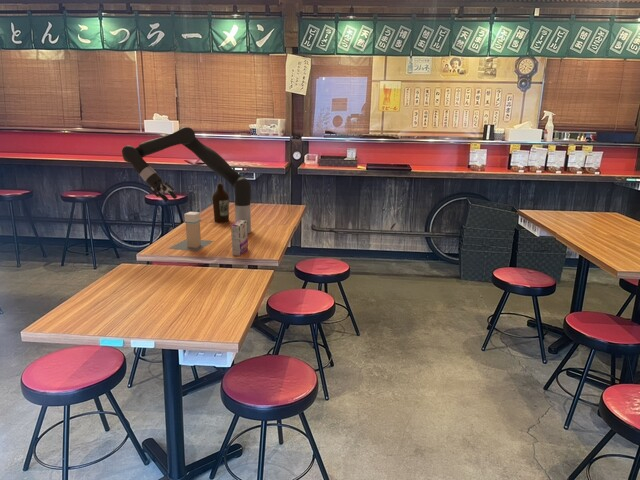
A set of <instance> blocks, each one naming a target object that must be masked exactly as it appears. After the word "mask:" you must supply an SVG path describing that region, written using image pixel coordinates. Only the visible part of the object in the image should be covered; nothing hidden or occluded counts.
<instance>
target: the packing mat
mask: <svg viewBox="0 0 640 480" xmlns="http://www.w3.org/2000/svg"><path fill="white" fill-rule="evenodd" d="M213 242H215V240H205V239H201V246H199V247H197V248H192V247H187V238H185V239H184V240H182V241H180V242H178V243H177V244H173V245H172V246H171V247H168V248H167V249H169V250H179V251H180V250H181V251H188V252H200V251H201V250H202V249H204V248H205V247H207V246H208V245H209V246H210V245H211V244H212V243H213Z"/></svg>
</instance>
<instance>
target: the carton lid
mask: <svg viewBox="0 0 640 480" xmlns="http://www.w3.org/2000/svg"><path fill="white" fill-rule="evenodd" d="M199 222H200V223H201V222H202V220H201V212H199V211H188V212H186V213H184V224H186V223H187V224H197V223H199Z"/></svg>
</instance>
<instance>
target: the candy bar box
mask: <svg viewBox="0 0 640 480" xmlns="http://www.w3.org/2000/svg"><path fill="white" fill-rule="evenodd" d="M230 229H231V230H230V231H231V248H232V256H234V255H242V254H243V253H244V252H245V253H246V252H247V251H249V243H248V241H249V239H248V234H247V221H245V220H238V221H237V222H235V221H234V223H232V224H231V225H230ZM245 253H244V254H245ZM244 254H243V255H244ZM243 255H242V256H243Z"/></svg>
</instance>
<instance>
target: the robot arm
mask: <svg viewBox="0 0 640 480" xmlns="http://www.w3.org/2000/svg"><path fill="white" fill-rule="evenodd" d="M179 145H182V146H184V147H185V148H187V149H188V150H190V152H192V153H193V154H194V155H195V156H196V157H198V158H199V160H200V161H201V162H203V164H204V165H206V166H207V167H208V168H209V169H210V170H211V171H213V172H214V173H216V174H217V175H219V176H220V177H222V178H223V179H225V180H226V181H227V182H228V183H229V184H230V185H231V186H232V187H233V189H234V194H235V196H234V219H235V220H234V223H235V222H237V221H238V220H245V221H247V235H248V234H249V235H250V234H251V233H252V212H251V210H252V209H251V200H252V185H251V182H250V180H248V179H247V178H246V177H244V176H242V175H241V174H240V173H238V172H237V171H235V170H234V168H232V167H231V165H230V164H229V163H228V162H227V160H226V159H224V158H223V157H222V156H221V155H220V154H219V153H218V152H217V151H215V150H214V149H212V148H211V147H209V146H207V145H206V144H204V143H203V142H201V141H200V140H199V139H198V138H197V137H196V132H195V130H194V129H192V128H191V127H189V126H183V127H181V128H179V129H177V131H174V132H173V133H170V134H167V135H164V136H161V137H157V138H153V139H150V140H149V139H148V140H146V141H143V142H141V143H139V144H138V146H137V147H134V146H132V145H125V146H123V147H122V149H121V155H122V159H123V160H124V162H126V163H131V165H132V167H133V169H134V170H135V172H137V174H138V175H139V176H140V177H141V179H142V180H143V181H144V182H145V183H146V184H147V185H148V186H149V187H150V191H151V192H152V194H154V195H155V196H156V198H161V199H162V200H163V202H164V203H168V202H169V198H168V197H167V195H165V194H168V195H169V196H171V197H172V199H173V200H176V199H177V198H178V195H177V194H176V193H175V192H174V190H175V188H174V187H173V186H171V184H170V183H169V182H168V181H165V183H164V182H163V178H162V177H161V175H159V174H158V172H156V170H155V169H154V168H152V166H151V165H149V164H148V162H147V161H145V160H144V157H146V156H149V155H152V154H155V153H158V152H161V151H163V150H165V149H168V148H171V147H174V146H179ZM164 193H165V194H164Z"/></svg>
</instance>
